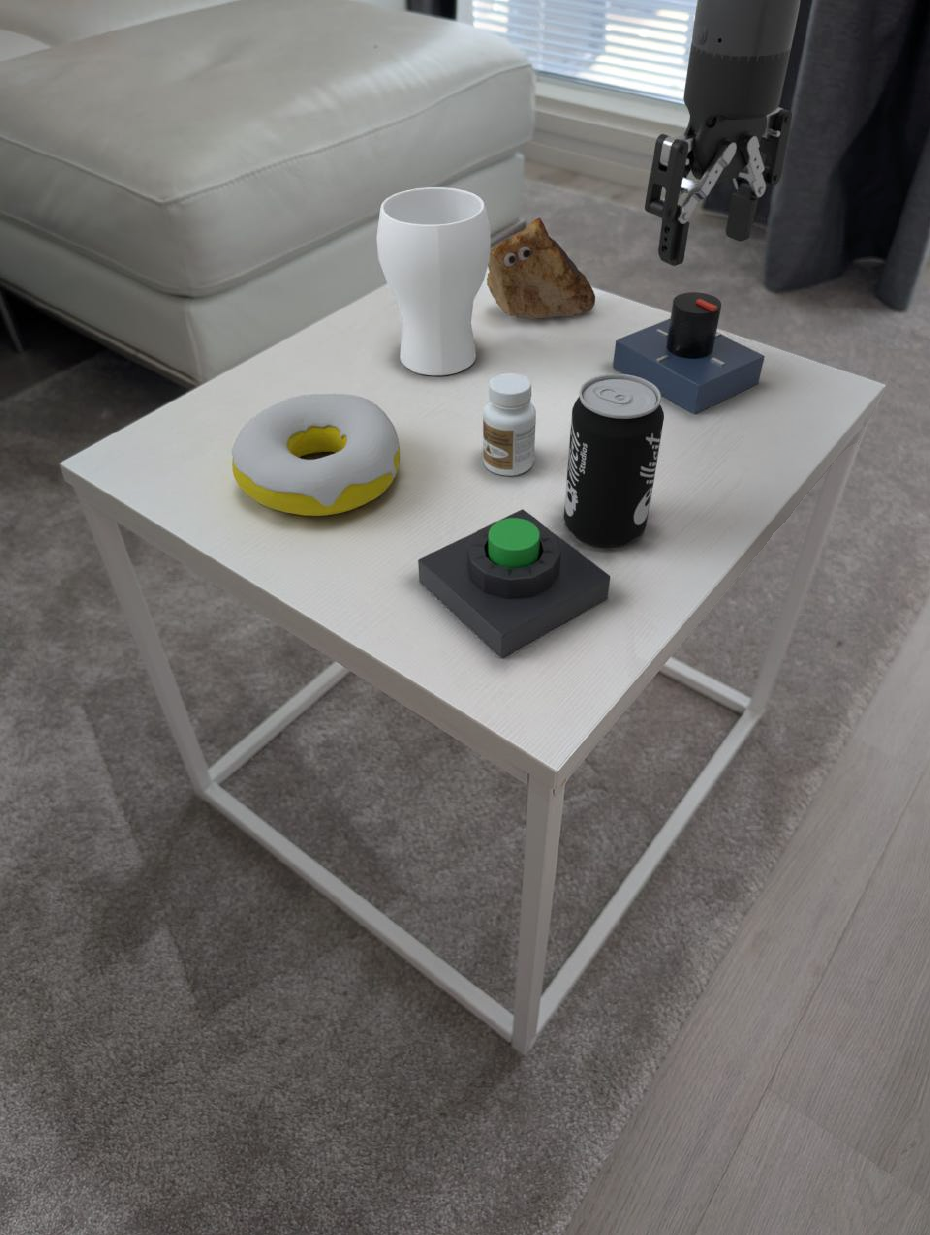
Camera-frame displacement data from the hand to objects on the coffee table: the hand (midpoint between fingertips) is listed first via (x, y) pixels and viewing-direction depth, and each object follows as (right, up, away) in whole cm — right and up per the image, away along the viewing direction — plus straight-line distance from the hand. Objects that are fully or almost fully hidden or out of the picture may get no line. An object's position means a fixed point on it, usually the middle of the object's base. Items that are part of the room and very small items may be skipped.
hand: (704, 250), depth 81 cm
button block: (-18, -31, -13) cm, 38 cm away
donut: (-34, -21, -3) cm, 40 cm away
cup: (-24, -6, +12) cm, 28 cm away
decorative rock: (-13, 0, +18) cm, 23 cm away
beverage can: (-10, -26, -8) cm, 29 cm away
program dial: (0, -7, +7) cm, 9 cm away
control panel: (0, -9, +9) cm, 12 cm away
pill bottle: (-18, -19, -1) cm, 26 cm away
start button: (-18, -28, -16) cm, 37 cm away
